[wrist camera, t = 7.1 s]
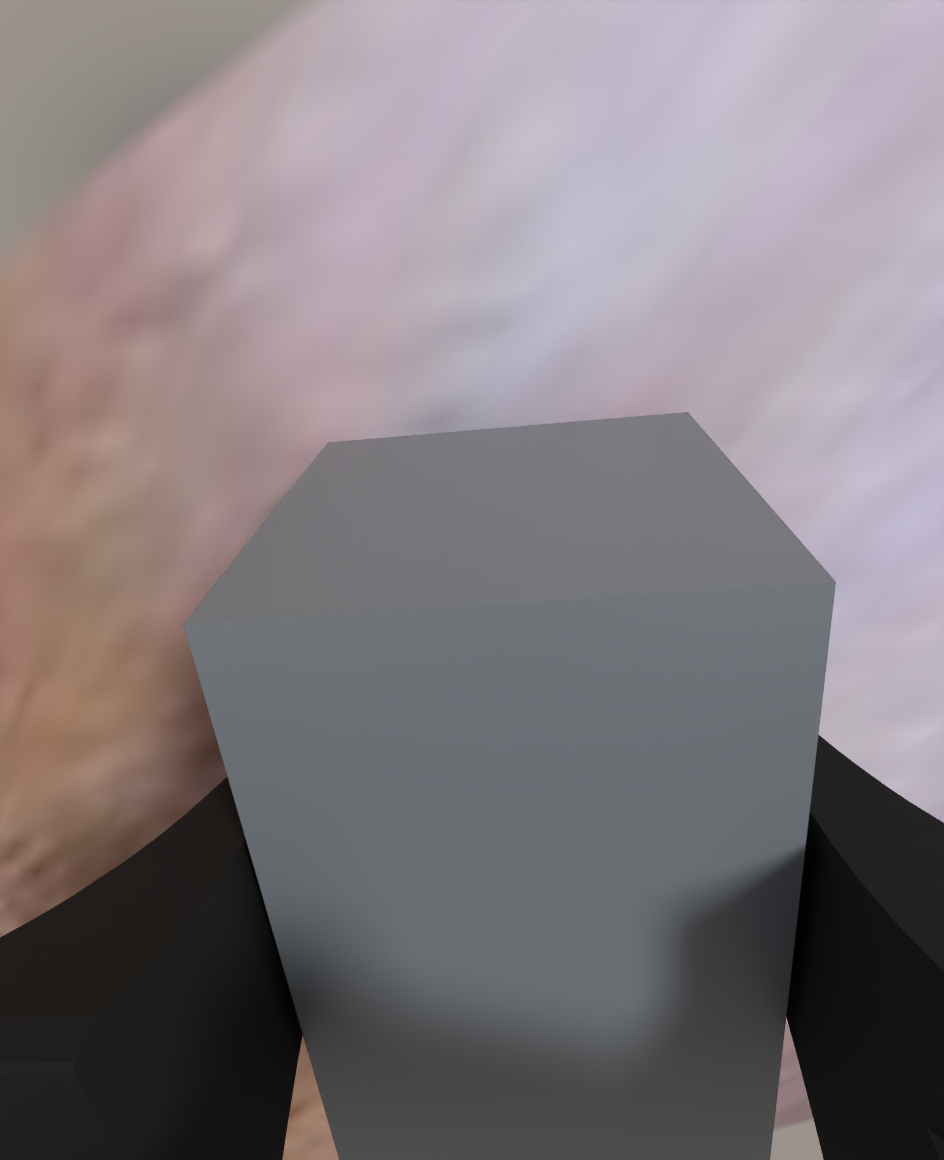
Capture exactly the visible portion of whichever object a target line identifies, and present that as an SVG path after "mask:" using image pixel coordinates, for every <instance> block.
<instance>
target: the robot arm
mask: <svg viewBox="0 0 944 1160" xmlns="http://www.w3.org/2000/svg"><path fill="white" fill-rule="evenodd" d="M786 1017H787V1021H788V1024H789V1028H790V1031H791V1035H792V1039H793V1042H794V1046H795V1049H796V1053H797V1057H798V1061H799V1065H800V1068H801V1072H802V1076H803V1080H804V1084H805V1087H806V1091H807V1095H808V1099H809V1103H810V1107H811V1110H812V1114H813V1118H814V1122H815V1126H816V1130H817V1134H818V1137H819V1142H820V1146H821V1150H822V1154H823V1159H824V1160H944V823H943V822H941V821H940V820H938V819H936V818H935V817H933V816H931V815H930V814H928V813H927V812H925V811H923V810H922V809H920V808H919V807H917V806H915V805H914V804H912V803H910V802H909V801H907V800H906V799H904V798H903V797H901V796H900V795H898V794H897V793H895V792H894V791H892V790H891V789H889V788H888V787H887V786H885V785H884V784H882V783H881V782H880V781H878V780H877V779H876V778H874V777H873V776H871V775H870V774H869V773H867V772H866V771H864V770H863V769H862V768H860V767H859V766H857V765H856V764H855V763H854V762H852V761H851V760H850V759H848V758H847V757H846V756H844V755H843V754H842V753H840V752H839V751H838V750H837V749H835V748H834V747H833V746H832V745H830V744H829V743H828V742H827V741H825V740H824V739H823V738H822V737H821V736H819V735H818V742H817V751H816V760H815V768H814V777H813V786H812V795H811V803H810V812H809V821H808V830H807V838H806V847H805V856H804V865H803V874H802V882H801V891H800V900H799V909H798V917H797V926H796V935H795V944H794V952H793V961H792V970H791V979H790V988H789V996H788V1005H787V1014H786ZM302 1034H303V1033H302V1030H301V1027H300V1023H299V1020H298V1016H297V1013H296V1009H295V1006H294V1003H293V999H292V996H291V992H290V989H289V985H288V982H287V979H286V975H285V972H284V968H283V965H282V961H281V958H280V955H279V951H278V948H277V944H276V941H275V937H274V934H273V931H272V927H271V924H270V920H269V917H268V913H267V910H266V907H265V903H264V900H263V896H262V893H261V889H260V886H259V883H258V879H257V876H256V872H255V869H254V865H253V862H252V859H251V855H250V852H249V848H248V845H247V841H246V838H245V835H244V831H243V828H242V824H241V821H240V817H239V814H238V811H237V807H236V804H235V800H234V797H233V793H232V790H231V787H230V783H229V780H228V777H227V778H225V779H224V780H223V781H222V782H221V783H220V784H219V785H218V786H217V787H216V788H214V789H213V790H212V791H211V792H210V793H209V794H208V795H207V796H206V797H204V798H203V799H202V800H201V801H200V802H199V803H198V804H197V805H196V806H195V807H193V808H192V809H191V810H190V811H189V812H188V813H187V814H186V815H184V816H183V817H182V818H181V819H180V820H178V821H177V822H176V823H175V824H174V825H172V826H171V827H170V828H169V829H167V830H166V831H165V832H164V833H162V834H161V835H160V836H158V837H157V838H156V839H154V840H153V841H152V842H150V843H149V844H148V845H146V846H145V847H144V848H143V849H141V850H140V851H139V852H137V853H136V854H135V855H133V856H132V857H130V858H129V859H128V860H126V861H125V862H123V863H122V864H120V865H119V866H117V867H116V868H114V869H113V870H111V871H110V872H108V873H107V874H105V875H104V876H102V877H101V878H99V879H98V880H96V881H95V882H93V883H92V884H90V885H89V886H87V887H86V888H84V889H83V890H81V891H80V892H78V893H76V894H75V895H73V896H72V897H70V898H69V899H67V900H65V901H64V902H62V903H60V904H59V905H57V906H55V907H54V908H52V909H50V910H49V911H47V912H45V913H43V914H42V915H40V916H38V917H37V918H35V919H33V920H31V921H30V922H28V923H26V924H24V925H22V926H21V927H19V928H17V929H15V930H13V931H11V932H10V933H8V934H6V935H4V936H2V937H1V938H0V1160H282V1158H283V1151H284V1144H285V1137H286V1130H287V1124H288V1118H289V1112H290V1105H291V1099H292V1093H293V1087H294V1081H295V1075H296V1068H297V1062H298V1057H299V1051H300V1046H301V1040H302Z"/></svg>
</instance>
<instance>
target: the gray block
mask: <svg viewBox="0 0 944 1160" xmlns="http://www.w3.org/2000/svg"><path fill="white" fill-rule="evenodd" d="M835 584H836V582H835V580H834V579H833V578H832V577H831V576H830V575H829V574H828V572H827V571H826V570H825V569H824V568H823V567H822V566H821V564H820V563H819V562H818V561H817V560H816V559H815V558H814V556H813V555H812V554H811V553H810V552H809V551H808V550H807V548H806V547H805V546H804V545H803V544H802V543H801V541H800V540H799V539H798V538H797V537H796V536H795V535H794V533H793V532H792V531H791V530H790V529H789V528H788V527H787V525H786V524H785V523H784V522H783V521H782V520H781V519H780V517H779V516H778V515H777V514H776V513H775V512H774V511H773V509H772V508H771V507H770V506H769V505H768V504H767V502H766V501H765V500H764V499H763V498H762V497H761V496H760V494H759V493H758V492H757V491H756V490H755V489H754V488H753V486H752V485H751V484H750V483H749V482H748V481H747V480H746V478H745V477H744V476H743V475H742V474H741V473H740V472H739V470H738V469H737V468H736V467H735V466H734V465H733V463H732V462H731V461H730V460H729V459H728V458H727V457H726V455H725V454H724V453H723V452H722V451H721V450H720V449H719V447H718V446H717V445H716V444H715V443H714V442H713V441H712V439H711V438H710V437H709V436H708V435H707V434H706V433H705V431H704V430H703V429H702V428H701V427H700V426H699V425H698V423H697V422H696V421H695V420H694V419H693V418H692V416H691V415H690V414H689V413H688V412H685V413H673V414H662V415H650V416H638V417H626V418H614V419H602V420H590V421H579V422H567V423H555V424H543V425H531V426H519V427H507V428H496V429H484V430H472V431H460V432H448V433H436V434H424V435H412V436H401V437H389V438H377V439H365V440H353V441H341V442H329V443H327V444H326V446H325V447H324V448H323V449H322V451H321V452H320V453H319V454H318V456H317V457H316V458H315V459H314V461H313V462H312V463H311V465H310V466H309V467H308V468H307V470H306V471H305V472H304V473H303V475H302V476H301V477H300V478H299V480H298V481H297V482H296V483H295V485H294V486H293V487H292V488H291V490H290V491H289V492H288V493H287V495H286V496H285V497H284V498H283V500H282V501H281V502H280V503H279V505H278V506H277V507H276V508H275V510H274V511H273V512H272V514H271V515H270V516H269V517H268V519H267V520H266V521H265V522H264V524H263V525H262V526H261V527H260V529H259V530H258V531H257V532H256V534H255V535H254V536H253V537H252V539H251V540H250V541H249V542H248V544H247V545H246V546H245V547H244V549H243V550H242V551H241V552H240V554H239V555H238V556H237V557H236V559H235V560H234V561H233V562H232V564H231V565H230V566H229V568H228V569H227V570H226V571H225V573H224V574H223V575H222V576H221V578H220V579H219V580H218V581H217V583H216V584H215V585H214V586H213V588H212V589H211V590H210V591H209V593H208V594H207V595H206V596H205V598H204V599H203V600H202V601H201V603H200V604H199V605H198V606H197V608H196V609H195V610H194V611H193V613H192V614H191V615H190V617H189V618H188V619H187V620H186V622H185V623H184V624H183V625H184V629H185V632H186V636H187V639H188V643H189V646H190V649H191V653H192V656H193V660H194V663H195V667H196V670H197V673H198V677H199V680H200V684H201V687H202V691H203V694H204V697H205V701H206V704H207V708H208V711H209V715H210V718H211V721H212V725H213V728H214V732H215V735H216V739H217V742H218V745H219V749H220V752H221V756H222V759H223V763H224V766H225V769H226V773H227V776H228V780H229V783H230V787H231V790H232V793H233V797H234V800H235V804H236V807H237V811H238V814H239V817H240V821H241V824H242V828H243V831H244V835H245V838H246V841H247V845H248V848H249V852H250V855H251V859H252V862H253V865H254V869H255V872H256V876H257V879H258V883H259V886H260V889H261V893H262V896H263V900H264V903H265V907H266V910H267V913H268V917H269V920H270V924H271V927H272V931H273V934H274V937H275V941H276V944H277V948H278V951H279V955H280V958H281V961H282V965H283V968H284V972H285V975H286V979H287V982H288V985H289V989H290V992H291V996H292V999H293V1003H294V1006H295V1009H296V1013H297V1016H298V1020H299V1023H300V1027H301V1030H302V1033H303V1037H304V1040H305V1044H306V1047H307V1051H308V1054H309V1057H310V1061H311V1064H312V1068H313V1071H314V1075H315V1078H316V1081H317V1085H318V1088H319V1092H320V1095H321V1099H322V1102H323V1105H324V1109H325V1112H326V1116H327V1119H328V1123H329V1126H330V1129H331V1133H332V1136H333V1140H334V1143H335V1147H336V1150H337V1153H338V1157H339V1160H770V1154H771V1145H772V1137H773V1128H774V1119H775V1110H776V1102H777V1093H778V1084H779V1075H780V1067H781V1058H782V1049H783V1040H784V1031H785V1023H786V1014H787V1005H788V996H789V988H790V979H791V970H792V961H793V952H794V944H795V935H796V926H797V917H798V909H799V900H800V891H801V882H802V874H803V865H804V856H805V847H806V838H807V830H808V821H809V812H810V803H811V795H812V786H813V777H814V768H815V760H816V751H817V742H818V733H819V724H820V716H821V707H822V698H823V689H824V681H825V672H826V663H827V654H828V645H829V637H830V628H831V619H832V610H833V602H834V593H835Z"/></svg>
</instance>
